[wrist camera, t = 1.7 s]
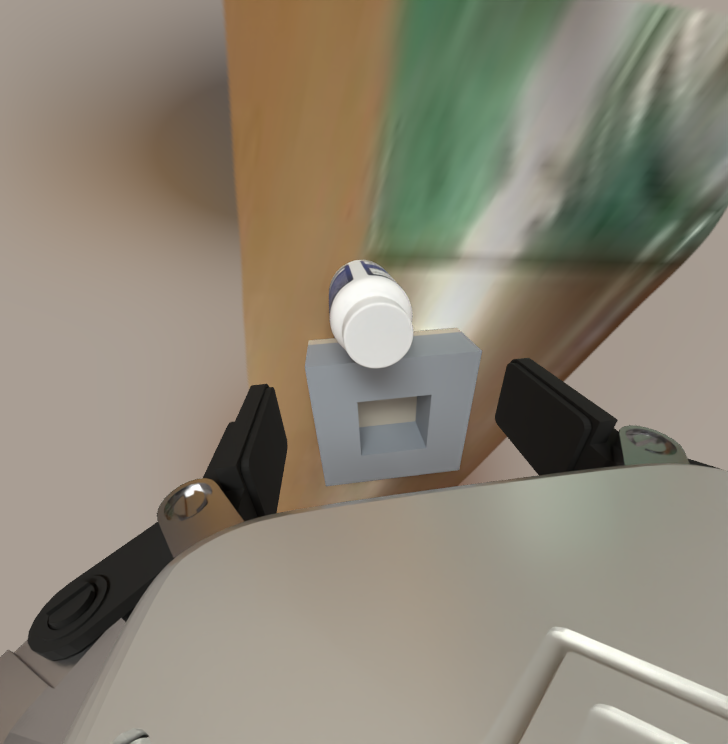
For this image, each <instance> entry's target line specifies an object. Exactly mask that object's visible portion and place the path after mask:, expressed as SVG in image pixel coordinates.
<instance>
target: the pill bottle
mask: <svg viewBox="0 0 728 744" xmlns="http://www.w3.org/2000/svg"><path fill="white" fill-rule="evenodd" d="M329 313H330V325H331V329H332V332H333V335H334V337H335V338H336V340H337V342H338V343H339V344H340V345H341V346H342V347H343V348H344V349H345V350H346V351H347V353H348V355H349V356H350V357H351V358H352V359H353V360H354V361H355V362H356V363H358V364H360V365H362V366H364V367H368V368H384V367H388V366H390V365H392V364H394V363H396V362H398V361H399V360H400V359H401V358H402V357H403V356H404V355H405V354H406V353H407V351H408V350H409V348H410V346H411V344H412V340H413V325H412V317H413V315H412V307H411V303H410V300H409V298H408V296H407V294H406V293H405V292H404V290H403V289H402V288H401V287H400V285H399V284H398V283H397V282H396V281H395V280H394V279H393V278H392V277H391V276H390V275H389V274H388V273H387V272H386V271H385V270H384V269H383V268H382V267H381V266H380V265H378V264H376V263H374V262H372V261H368V260H355V261H352V262H349V263H347V264H345V265H344V266H342V267H341V268H340V269H339V270H338V271H337V272H336V273H335V275H334V277H333V278H332V281H331V284H330V288H329Z"/></svg>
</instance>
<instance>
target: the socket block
mask: <svg viewBox="0 0 728 744" xmlns="http://www.w3.org/2000/svg"><path fill="white" fill-rule="evenodd" d="M481 354H482V351H481V350H480V349H479V348H478V347H477V346H476V345H475V344H474V343H473V342H472V341H471V340H470V339H469V338H467V337H466V336H465V335H464V334H463V333H462V332H461V331H460V330H459V329H458V328H449V329H438V330H426V331H414V332H413V340H412V344H411V346H410V348H409V350H408V351H407V353H406V354H405V355H404V356H403V357H402V358H401V359H400V360H399V361H398V362H396V363H394V364H392V365H390V366H388V367H384V368H368V367H364V366H362V365H360V364H358V363H356V362H355V361H354V360H353V359H352V358H351V357H350V356H349V355H348V353H347V351H346V350H345V349H344V348H343V347H342V346H341V345H340V344H339V343H338V342H337V340H336V338H332V339H321V340H309V343H308V350H307V356H306V363H305V371H306V377H307V382H308V388H309V394H310V399H311V405H312V410H313V416H314V422H315V427H316V433H317V438H318V444H319V450H320V455H321V461H322V467H323V472H324V478H325V483H326V486H332V485H340V484H349V483H357V482H365V481H373V480H381V479H389V478H397V477H406V476H414V475H422V474H430V473H438V472H446V471H454V470H459V467H460V462H461V457H462V452H463V447H464V442H465V436H466V431H467V426H468V421H469V416H470V411H471V405H472V400H473V395H474V390H475V385H476V380H477V374H478V369H479V364H480V359H481Z"/></svg>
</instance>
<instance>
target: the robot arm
mask: <svg viewBox="0 0 728 744" xmlns="http://www.w3.org/2000/svg"><path fill="white" fill-rule="evenodd" d="M495 420H496V423H497V425H498V426H499V427H500V428H501V430H502V431H503V432H504V433H505V434H506V436H507V437H508V438H509V439H510V441H511V442H512V443H513V444H514V445H515V447H516V448H517V449H518V450H519V452H520V453H521V454H522V455H523V456H524V458H525V459H526V460H527V461H528V462H529V464H530V465H531V466H532V467H533V469H534V470H535V471H536V472H537V473H538V475H539V476H531V477H524V478H516V479H508V480H501V481H493V482H486V483H478V484H471V485H463V486H456V487H448V488H441V489H434V490H426V491H419V492H412V493H405V494H398V495H391V496H383V497H376V498H369V499H362V500H355V501H348V502H341V503H335V504H328V505H322V506H316V507H309V508H303V509H297V510H291V511H286V512H281V513H276V512H277V506H278V500H279V495H280V489H281V483H282V477H283V471H284V465H285V459H286V454H287V438H286V434H285V430H284V426H283V422H282V418H281V414H280V410H279V406H278V402H277V398H276V394H275V390H274V388H273V387H269V386H268V384H262V385H252V386H251V387H250V389H249V391H248V394H247V396H246V399H245V400H244V403H243V405H242V407H241V409H240V412H239V414H238V416H237V418H236V421H235V422H231V423H229V424H228V426H227V428H226V430H225V432H224V434H223V437H222V439H221V441H220V443H219V445H218V447H217V449H216V451H215V453H214V456H213V458H212V460H211V462H210V464H209V466H208V468H207V470H206V472H205V474H204V476H203V478H202V479H195V480H191V481H188V482H186V483H184V484H182V485H180V486H179V487H177V488H176V489H174V490H173V491H172V492H170V494H168V495H167V496H166V497H165V498H164V500H163V501H162V503H161V504H160V506H159V508H158V512H157V520H158V522H157V523H155V524H154V525H153V526H151V527H150V528H148V529H147V530H145V531H144V532H143V533H141V534H140V535H138V536H137V537H135V538H134V539H132V540H131V541H129V542H128V543H127V544H125V545H124V546H122V547H121V548H119V549H118V550H116V551H115V552H114V553H112V554H111V555H109V556H108V557H106V558H105V559H103V560H102V561H101V562H99V563H98V564H96V565H95V566H94V567H92V568H91V569H89V570H88V571H86V572H85V573H83V574H82V575H80V576H79V577H78V578H76V579H75V580H73V581H72V582H70V583H69V584H68V585H66V586H65V587H64V588H63V589H62V590H60V591H59V592H58V593H57V594H55V596H53V597H52V599H51V600H50V601H49V602H48V603H47V604H46V605H45V606H44V607H43V608H42V610H41V611H40V613H39V614H38V615H37V617H36V618H35V620H34V622H33V624H32V626H31V628H30V631H29V635H28V640H27V641H26V642H25V643H24V644H23V645H21V646H20V647H19V648H18V649H17V650H16V651H15V652H12V651H10V650H7V651H6V652H5V653H4V654H3V655H2V656H1V657H0V744H728V471H726V470H722V469H719V468H716V467H713V466H709V465H707V464H703V463H700V462H697V461H694V460H691V459H687V456H686V454H685V452H684V450H683V448H682V447H681V445H680V444H678V443H677V442H676V441H675V440H673V439H672V438H670V437H668V436H667V435H665V434H662V433H660V432H658V431H656V430H653V429H649V428H646V427H641V426H630V425H629V426H624V427H622V428H621V429H620V430H619V432H618V431H617V430H616V429H614V426H615V424H616V422H617V419H616V418H614V417H613V416H611V415H610V414H608V413H607V412H605V411H604V410H603V409H601V408H600V407H598V406H597V405H596V404H594V403H593V402H591V401H590V400H588V399H587V398H586V397H584V396H583V395H581V394H580V393H578V392H577V391H576V390H574V389H573V388H571V387H570V386H568V385H567V384H566V383H564V382H563V381H561V380H560V379H558V378H557V377H556V376H554V375H553V374H551V373H550V372H548V371H547V370H546V369H544V368H543V367H541V366H540V365H538V364H537V363H536V362H534V361H533V360H531V359H529V358H522V359H514V360H512V361H511V363H509V364H508V365H507V368H506V372H505V376H504V380H503V385H502V389H501V393H500V397H499V402H498V406H497V410H496V414H495ZM147 737H149V738H147Z"/></svg>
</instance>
